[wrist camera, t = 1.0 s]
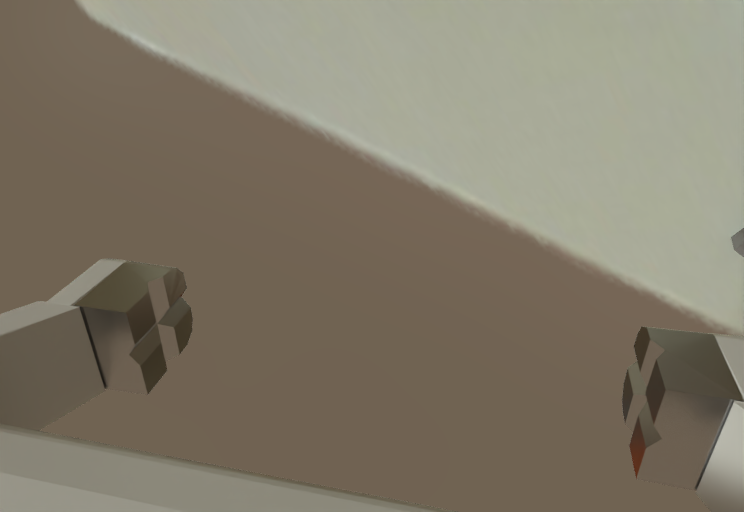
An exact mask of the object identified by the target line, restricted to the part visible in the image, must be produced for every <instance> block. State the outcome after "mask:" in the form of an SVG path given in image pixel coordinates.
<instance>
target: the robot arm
mask: <svg viewBox="0 0 744 512" xmlns="http://www.w3.org/2000/svg"><path fill="white" fill-rule="evenodd" d="M186 289H187V286H186V282H185V278H184V274H183V272H181V271H180V270H179V269H178V268H174V267H167V266H160V265H154V264H147V263H140V262H133V261H131V262H129V261H126V260H118V259H100V260H99V261H98V262H97V263H95V264H94V265H93V266H91V267H90V268H89V269H88V270H86V271H85V272H84V273H83V274H82V275H80V276H79V277H78V278H76V279H75V280H74V281H73V282H71V283H70V284H69V285H68V286H66V287H65V288H64V289H62V290H61V291H60V292H59V293H57V294H56V295H55V296H54V297H52V298H51V299H50V300H49V301H47V302H42V301H38V302H35V303H33V304H29V305H26V306H23V307H20V308H17V309H14V310H12V311H8V312H6V313H2V314H0V512H457V511H451V510H446V509H441V508H436V507H431V506H426V505H421V504H416V503H410V502H405V501H400V500H395V499H390V498H384V497H380V496H374V495H369V494H364V493H359V492H354V491H349V490H343V489H338V488H333V487H327V486H322V485H317V484H312V483H306V482H302V481H296V480H291V479H286V478H281V477H276V476H270V475H265V474H260V473H255V472H249V471H244V470H239V469H234V468H229V467H223V466H218V465H213V464H208V463H203V462H197V461H192V460H187V459H182V458H177V457H171V456H165V455H161V454H155V453H151V452H146V451H140V450H135V449H129V448H125V447H120V446H114V445H109V444H104V443H99V442H93V441H88V440H83V439H78V438H73V437H68V436H63V435H57V434H52V433H47V432H42V431H39V430H41V429H43V428H44V427H46V426H47V425H49V424H51V423H53V422H54V421H56V420H58V419H59V418H61V417H63V416H64V415H66V414H68V413H69V412H71V411H73V410H75V409H76V408H78V407H79V406H81V405H82V404H85V403H86V402H88V401H90V400H91V399H93V398H94V397H96V396H98V395H100V394H101V393H103V392H104V391H105V389H110V390H118V391H124V392H131V393H138V394H145V395H148V394H149V393H150V391H151V390H152V389H153V387H154V386H155V385H156V384H157V383H158V381H159V380H160V379H161V378H162V376H163V375H164V374H165V373H166V371H167V366H166V361H168V360H170V359H172V358H174V357H176V356H178V355H180V354H181V352H182V351H183V349H184V348H185V347H186V346H187V344H188V341H189V338H190V335H191V332H192V322H193V318H192V312H191V307H190V306H189V305H188V304H187V303H186V301H185V300H184V299H183V298H182V295H183V293H184V292H185V290H186ZM634 349H635V354H636V357H637V362H635V363H634V364H633V365H631V366H630V367H628V369H627V373H626V377H625V381H624V387H623V396H622V404H623V405H622V406H623V416H624V421H625V425H626V426H627V427H628V428H629V429H630V430H631V431H633V434H632V438H631V442H630V444H629V447H630V452H631V456H632V461H633V466H634V471H635V476H636V479H639V480H644V481H649V482H654V483H659V484H664V485H669V486H674V487H679V488H684V489H689V490H695V491H696V495H697V496H698V497H699V498H700V499H701V500H702V502H703V503H704V504H705V505H706V506H707V507H708V509H709V510H710V511H711V512H744V336H734V335H723V334H713V333H709V334H707V333H698V332H688V331H679V330H670V329H661V328H652V327H641V329H640V331H639V332H638V334H637V337H636V341H635V344H634Z"/></svg>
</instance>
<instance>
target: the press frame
mask: <svg viewBox="0 0 744 512" xmlns="http://www.w3.org/2000/svg"><path fill="white" fill-rule="evenodd" d="M731 239H732V243H733V247H734V250H735V251H736V252H738V253H739V254H740V255H742V256H743V257H744V228H743V229H742V230H741V231H739V232H738V233H736V234H735V235H734V236H732V237H731Z"/></svg>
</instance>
